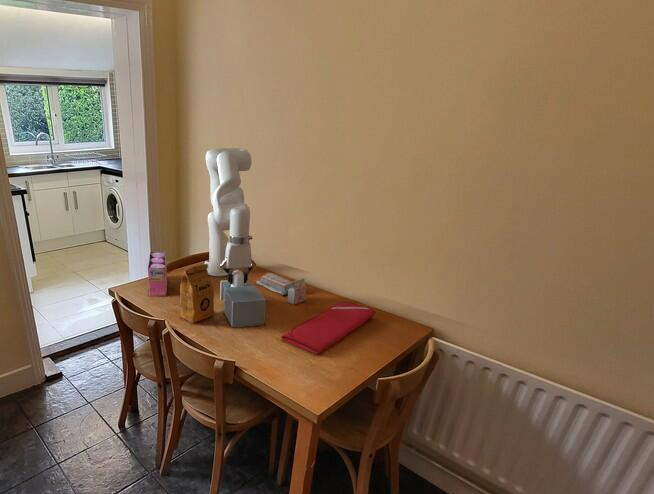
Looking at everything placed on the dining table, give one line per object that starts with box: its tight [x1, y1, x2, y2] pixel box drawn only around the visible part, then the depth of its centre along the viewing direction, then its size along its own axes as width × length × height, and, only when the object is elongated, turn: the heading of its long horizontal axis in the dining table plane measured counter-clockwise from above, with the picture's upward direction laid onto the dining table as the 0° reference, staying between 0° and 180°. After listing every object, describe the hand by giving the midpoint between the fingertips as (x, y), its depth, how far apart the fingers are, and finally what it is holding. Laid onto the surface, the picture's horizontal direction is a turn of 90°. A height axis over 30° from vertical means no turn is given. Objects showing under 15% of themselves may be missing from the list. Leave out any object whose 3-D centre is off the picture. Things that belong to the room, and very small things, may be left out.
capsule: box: [231, 269, 244, 287], centre depth 168 cm, size 5×5×8 cm
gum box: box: [147, 251, 168, 297], centre depth 192 cm, size 24×8×14 cm, turn 2°
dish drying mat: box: [280, 301, 377, 355], centre depth 154 cm, size 16×41×4 cm, turn 132°
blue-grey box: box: [223, 285, 267, 328], centre depth 161 cm, size 15×13×11 cm
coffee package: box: [179, 263, 215, 324], centre depth 160 cm, size 10×12×22 cm
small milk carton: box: [287, 277, 307, 305], centre depth 175 cm, size 4×7×10 cm, turn 124°
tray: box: [219, 279, 250, 303], centre depth 173 cm, size 19×11×9 cm, turn 9°
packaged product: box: [255, 272, 292, 296], centre depth 190 cm, size 18×5×10 cm
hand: (237, 282), depth 168 cm, fingers closed on capsule, 5 cm apart
